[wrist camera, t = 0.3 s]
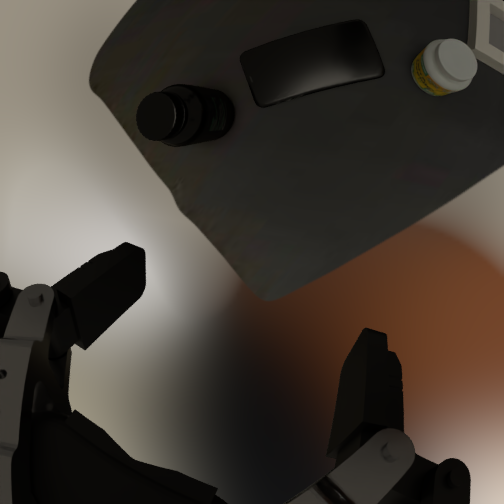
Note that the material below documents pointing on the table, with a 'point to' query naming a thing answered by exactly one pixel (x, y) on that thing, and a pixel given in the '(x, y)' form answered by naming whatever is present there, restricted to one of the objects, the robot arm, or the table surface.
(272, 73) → the smartphone
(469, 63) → the supplement bottle
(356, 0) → the table surface
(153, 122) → the supplement bottle
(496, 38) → the socket plate
